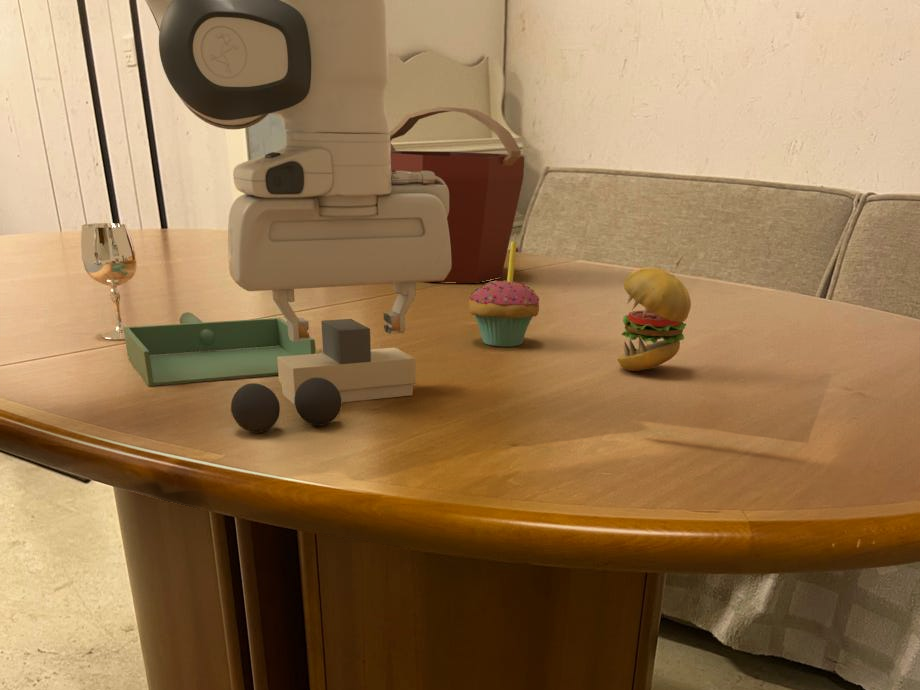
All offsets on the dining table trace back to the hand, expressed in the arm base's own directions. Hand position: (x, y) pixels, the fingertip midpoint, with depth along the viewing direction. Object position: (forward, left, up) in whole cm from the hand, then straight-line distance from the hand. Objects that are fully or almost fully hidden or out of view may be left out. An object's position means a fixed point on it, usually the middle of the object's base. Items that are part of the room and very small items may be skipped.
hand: (347, 336), depth 86 cm
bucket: (+67, +43, -6) cm, 80 cm away
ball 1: (-14, -3, -4) cm, 14 cm away
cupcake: (+30, +4, -6) cm, 31 cm away
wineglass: (0, +38, -6) cm, 38 cm away
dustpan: (+1, +23, -5) cm, 24 cm away
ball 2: (-9, -5, -4) cm, 11 cm away
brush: (0, 0, -6) cm, 6 cm away
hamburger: (+30, -16, -6) cm, 34 cm away
